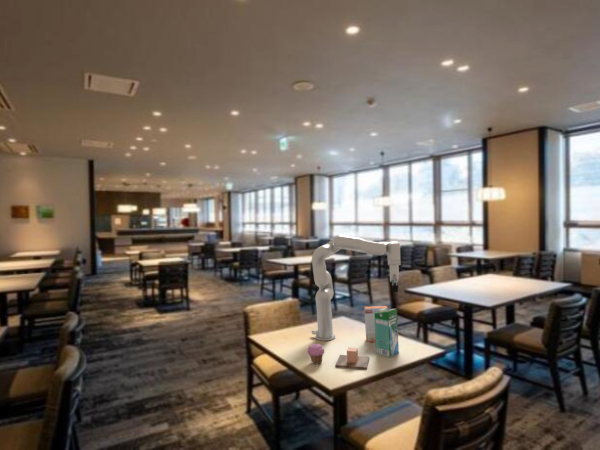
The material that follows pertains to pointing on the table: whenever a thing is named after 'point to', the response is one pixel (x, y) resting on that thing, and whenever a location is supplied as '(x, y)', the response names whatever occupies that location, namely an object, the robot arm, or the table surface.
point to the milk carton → (386, 332)
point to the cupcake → (316, 353)
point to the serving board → (360, 364)
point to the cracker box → (371, 321)
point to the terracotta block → (352, 355)
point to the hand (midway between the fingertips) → (395, 290)
